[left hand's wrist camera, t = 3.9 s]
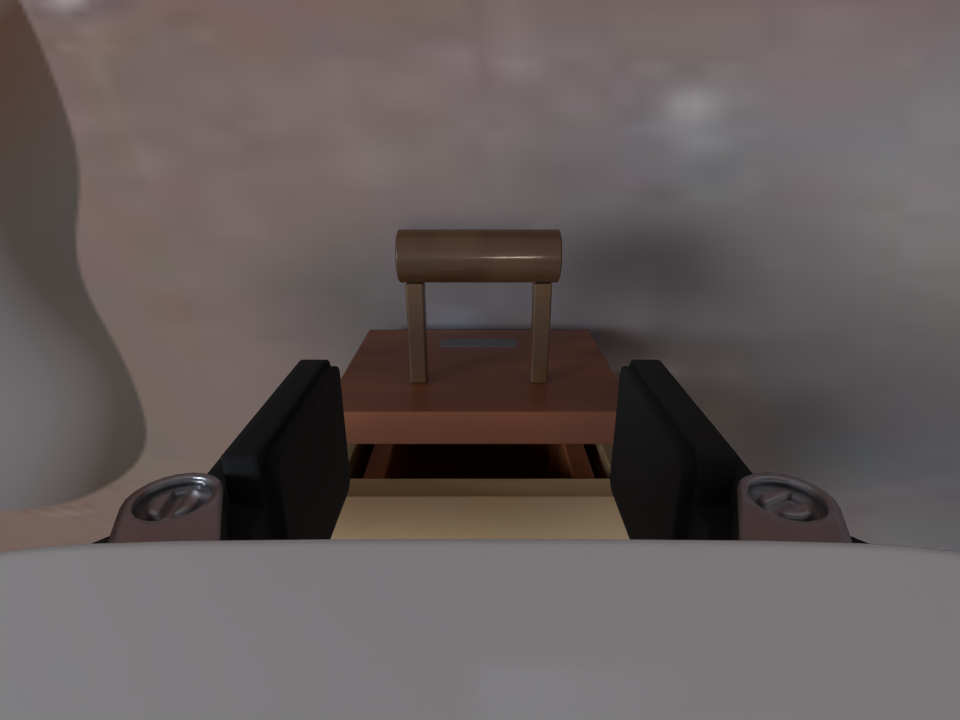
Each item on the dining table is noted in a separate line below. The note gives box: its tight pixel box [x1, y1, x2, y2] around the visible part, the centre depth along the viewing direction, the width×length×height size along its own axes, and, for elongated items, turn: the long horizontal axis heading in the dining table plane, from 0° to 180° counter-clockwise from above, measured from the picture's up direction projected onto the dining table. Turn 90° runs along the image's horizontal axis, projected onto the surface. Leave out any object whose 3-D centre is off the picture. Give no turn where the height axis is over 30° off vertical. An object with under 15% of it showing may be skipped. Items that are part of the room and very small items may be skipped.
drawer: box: [341, 230, 619, 479], centre depth 24 cm, size 25×10×8 cm, turn 0°
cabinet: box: [331, 444, 630, 540], centre depth 26 cm, size 21×11×10 cm, turn 0°
